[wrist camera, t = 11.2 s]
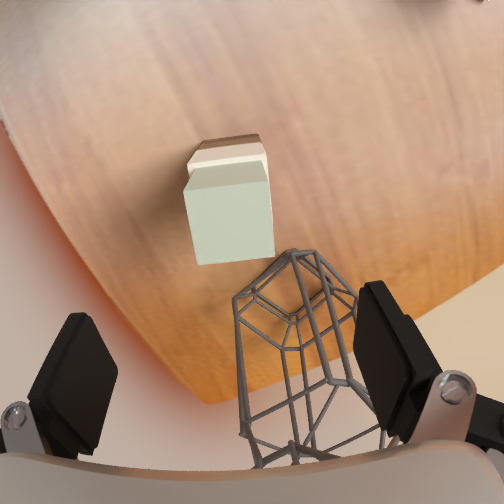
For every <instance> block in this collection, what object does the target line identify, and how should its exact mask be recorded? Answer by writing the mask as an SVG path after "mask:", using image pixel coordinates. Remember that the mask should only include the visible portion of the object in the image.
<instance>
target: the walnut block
mask: <svg viewBox="0 0 504 504" xmlns="http://www.w3.org/2000/svg"><path fill="white" fill-rule="evenodd" d="M257 142H261V139H260V137H259V135H258V134H250V135H241V136H233V137H226V138H219V139H212V140H205V141H203V142H202V144H201V145H200V146H199V148H198V149H197V150H203V149H210V148H217V147H224V146H232V145H240V144H248V143H257ZM261 144H262V142H261Z"/></svg>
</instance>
